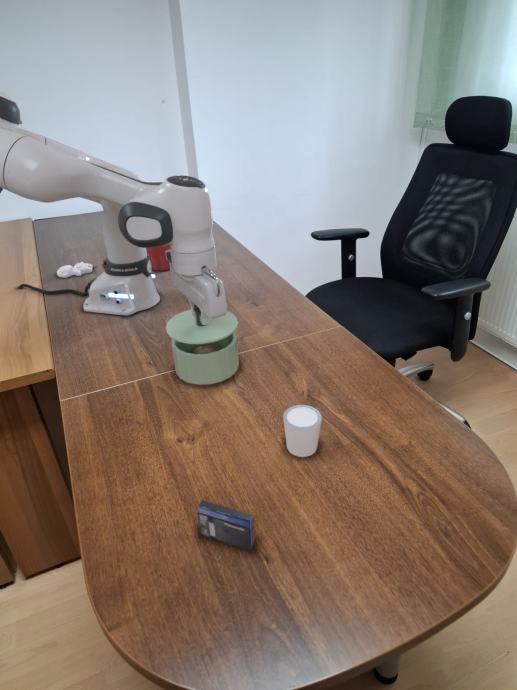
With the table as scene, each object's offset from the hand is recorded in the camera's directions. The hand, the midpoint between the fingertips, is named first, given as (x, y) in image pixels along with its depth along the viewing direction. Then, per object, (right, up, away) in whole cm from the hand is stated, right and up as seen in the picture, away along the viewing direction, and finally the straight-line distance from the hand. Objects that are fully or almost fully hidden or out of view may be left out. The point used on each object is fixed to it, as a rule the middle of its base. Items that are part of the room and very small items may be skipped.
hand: (201, 319), depth 102 cm
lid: (0, -1, +1) cm, 2 cm away
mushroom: (+1, -11, +6) cm, 13 cm away
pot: (+1, -11, +7) cm, 13 cm away
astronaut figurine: (-52, +20, +61) cm, 82 cm away
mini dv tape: (+8, -35, -32) cm, 48 cm away
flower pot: (-21, +22, +63) cm, 70 cm away
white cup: (+21, -24, -16) cm, 36 cm away
